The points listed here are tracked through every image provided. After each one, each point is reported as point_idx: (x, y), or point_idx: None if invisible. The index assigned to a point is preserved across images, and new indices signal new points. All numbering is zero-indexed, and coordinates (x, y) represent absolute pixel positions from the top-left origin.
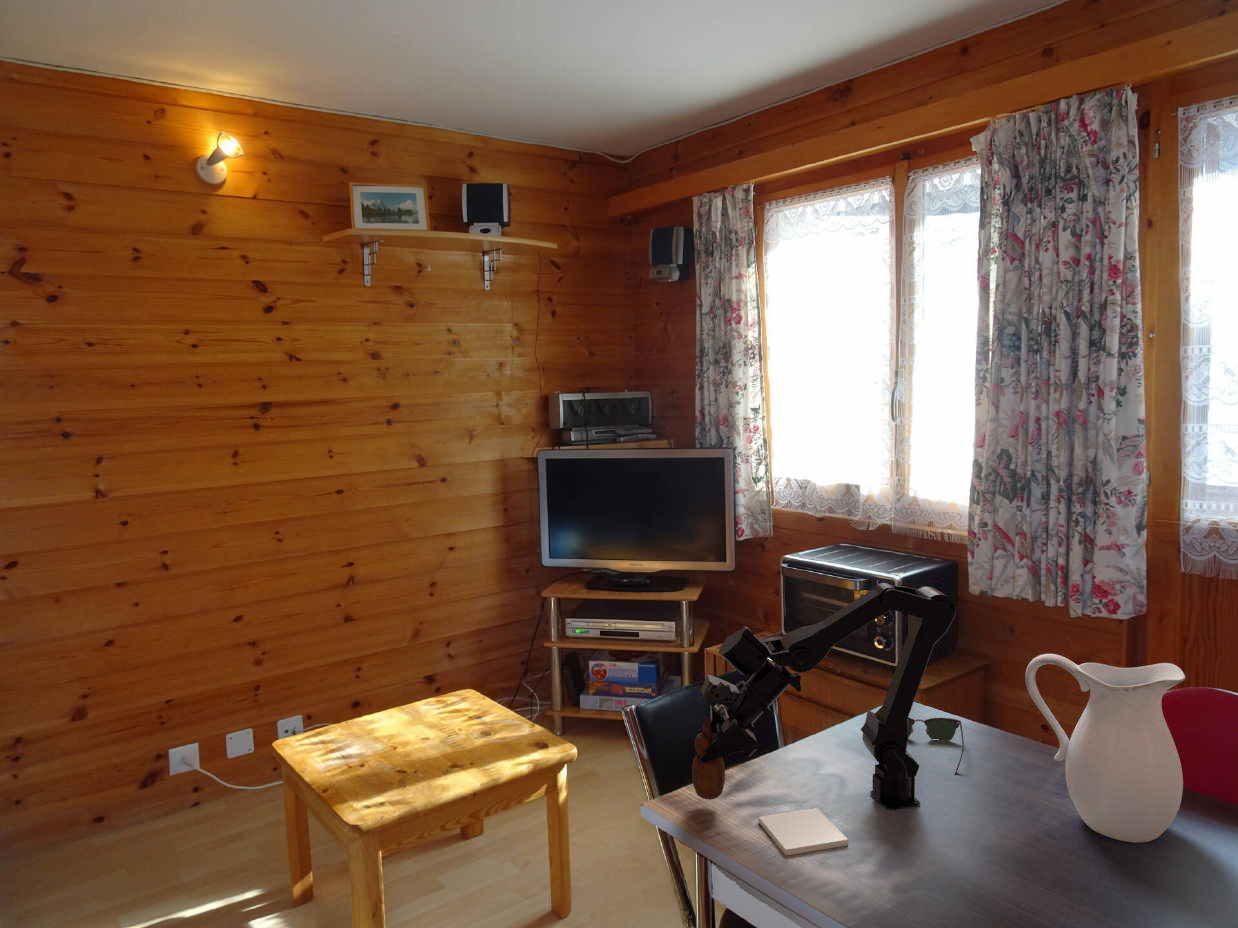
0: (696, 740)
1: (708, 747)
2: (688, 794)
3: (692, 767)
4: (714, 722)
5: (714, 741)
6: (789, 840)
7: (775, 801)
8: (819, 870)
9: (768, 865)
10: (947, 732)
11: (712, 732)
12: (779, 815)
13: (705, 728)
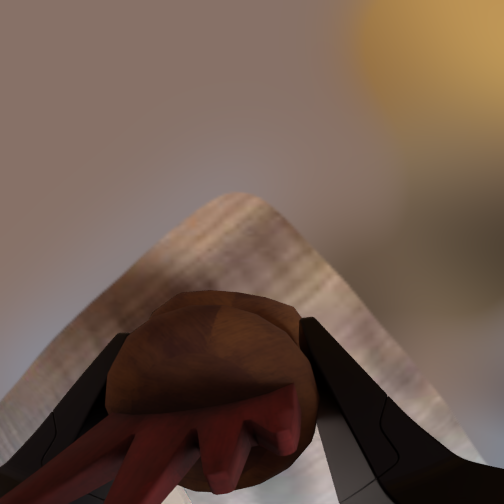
0: (168, 317)
1: (82, 393)
2: (315, 283)
3: (202, 291)
4: (373, 497)
5: (32, 439)
6: None
7: (275, 496)
8: None
9: (25, 419)
10: None
11: (281, 460)
12: (175, 498)
13: (196, 431)
